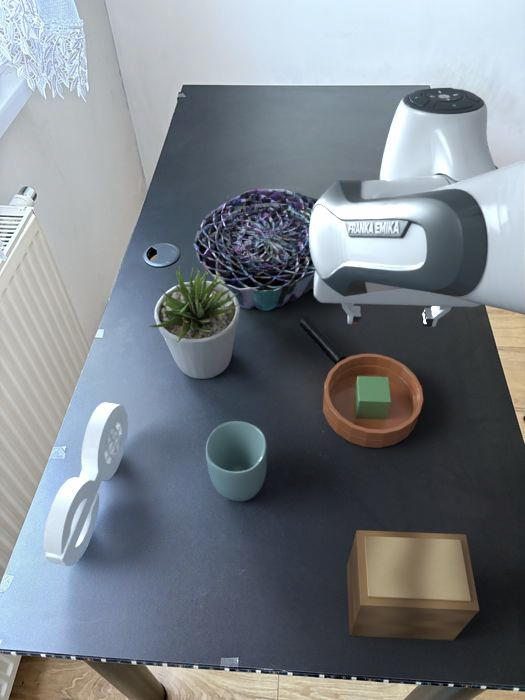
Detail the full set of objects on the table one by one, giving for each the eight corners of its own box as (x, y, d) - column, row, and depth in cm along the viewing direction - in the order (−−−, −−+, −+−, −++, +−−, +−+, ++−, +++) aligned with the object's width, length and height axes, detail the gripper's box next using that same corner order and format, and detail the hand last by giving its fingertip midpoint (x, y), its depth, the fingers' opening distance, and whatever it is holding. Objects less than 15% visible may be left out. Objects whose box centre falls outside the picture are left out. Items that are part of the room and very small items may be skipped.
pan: (437, 420, 89) (443, 403, 85) (361, 466, 84) (365, 450, 81) (376, 358, 97) (380, 340, 93) (304, 397, 92) (305, 379, 88)
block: (383, 394, 91) (388, 376, 88) (386, 419, 88) (391, 402, 85) (354, 393, 91) (357, 376, 88) (355, 418, 89) (359, 401, 85)
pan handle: (345, 362, 93) (347, 354, 91) (335, 368, 92) (336, 360, 91) (308, 322, 98) (309, 314, 97) (298, 327, 98) (299, 319, 96)
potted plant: (143, 369, 96) (119, 278, 80) (200, 318, 103) (187, 226, 87) (203, 408, 91) (189, 319, 75) (258, 352, 98) (255, 260, 82)
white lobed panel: (118, 428, 89) (103, 388, 81) (132, 430, 88) (119, 390, 81) (59, 574, 75) (34, 543, 67) (75, 577, 75) (52, 547, 67)
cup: (219, 454, 86) (214, 415, 78) (272, 463, 85) (272, 425, 77) (204, 503, 81) (197, 467, 73) (261, 514, 80) (260, 479, 72)
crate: (442, 571, 75) (466, 532, 65) (452, 640, 69) (480, 609, 60) (346, 567, 75) (356, 528, 66) (349, 635, 70) (361, 603, 61)
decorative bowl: (367, 272, 112) (376, 228, 105) (270, 349, 98) (273, 304, 90) (265, 216, 123) (268, 173, 116) (165, 277, 109) (160, 232, 102)
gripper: (315, 253, 63) (308, 338, 74) (511, 258, 62) (475, 343, 73) (314, 215, 67) (308, 301, 78) (498, 220, 66) (466, 305, 77)
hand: (390, 321), depth 75 cm, fingers open, 8 cm apart
